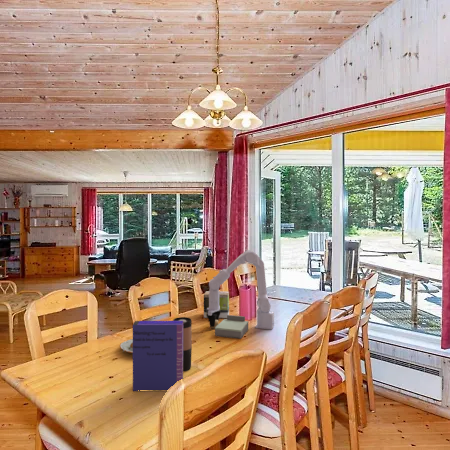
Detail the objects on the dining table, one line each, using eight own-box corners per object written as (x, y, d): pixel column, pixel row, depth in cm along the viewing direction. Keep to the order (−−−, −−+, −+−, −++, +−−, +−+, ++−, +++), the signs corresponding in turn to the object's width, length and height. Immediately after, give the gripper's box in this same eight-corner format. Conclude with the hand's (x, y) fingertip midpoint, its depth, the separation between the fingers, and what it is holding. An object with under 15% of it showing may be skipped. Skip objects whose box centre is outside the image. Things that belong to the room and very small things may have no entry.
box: (248, 329, 196) (248, 322, 196) (240, 338, 181) (241, 332, 181) (224, 326, 201) (224, 320, 201) (214, 335, 185) (214, 329, 185)
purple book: (183, 384, 132) (183, 320, 132) (182, 390, 127) (182, 324, 127) (135, 384, 132) (135, 320, 131) (132, 391, 127) (132, 324, 126)
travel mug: (182, 362, 152) (182, 315, 151) (195, 367, 147) (195, 319, 146) (168, 368, 146) (168, 320, 145) (181, 373, 141) (182, 323, 140)
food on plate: (109, 349, 167) (109, 335, 167) (154, 336, 185) (154, 324, 185) (140, 364, 150) (140, 349, 150) (186, 349, 168) (186, 335, 168)
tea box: (229, 314, 226) (229, 291, 226) (227, 318, 216) (228, 294, 216) (205, 313, 228) (205, 290, 227) (203, 318, 218) (203, 293, 217)
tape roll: (219, 326, 201) (219, 319, 201) (216, 329, 196) (216, 322, 196) (211, 325, 202) (211, 318, 202) (208, 328, 198) (208, 321, 198)
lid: (248, 322, 196) (248, 316, 196) (241, 331, 181) (241, 325, 181) (224, 320, 200) (224, 314, 200) (214, 329, 185) (214, 322, 185)
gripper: (211, 297, 207) (211, 320, 207) (202, 303, 193) (202, 328, 193) (223, 298, 205) (223, 321, 205) (215, 304, 191) (214, 329, 191)
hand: (214, 324), depth 199 cm, fingers closed on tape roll, 5 cm apart
